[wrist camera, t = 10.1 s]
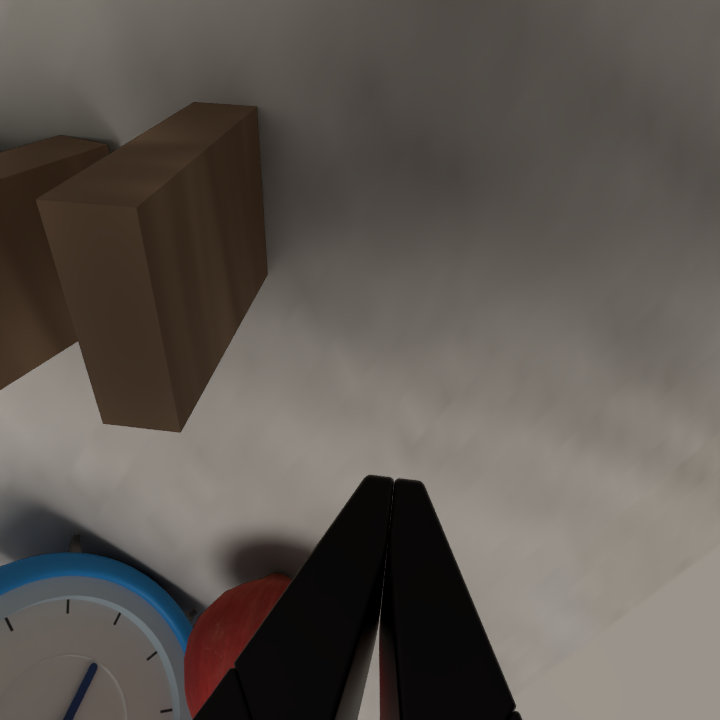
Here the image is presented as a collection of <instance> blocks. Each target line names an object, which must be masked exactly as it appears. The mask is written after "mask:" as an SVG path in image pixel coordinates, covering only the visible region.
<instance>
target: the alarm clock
mask: <svg viewBox="0 0 720 720" xmlns="http://www.w3.org/2000/svg"><path fill="white" fill-rule="evenodd" d="M196 613H197V611H196V610H195V609H193V610H191V611H190V612H188V613H186V614H184V612H183V611H182V610H181V608H180V607H179V606H178V605H177V603H176V602H175V601H174V600H173V599H172V598H171V596H170V595H169V594H168V593H167V592H166V591H165V590H164V589H163V588H161V587H160V586H159V585H158V584H157V583H156V582H155V581H153V580H152V579H150V578H149V577H148V576H146V575H145V574H143V573H142V572H140V571H138V570H136V569H135V568H133V567H131V566H129V565H126V564H124V563H122V562H119V561H116V560H113V559H110V558H107V557H103V556H98V555H94V554H86V553H81V544H80V535H76V534H74V535H73V536H72V537H71V541H70V545H69V549H68V552H63V553H50V554H44V555H38V556H32V557H29V558H25V559H21V560H18V561H14V562H11V563H8V564H6V565H3V566H0V720H192V717H191V714H190V711H189V709H188V706H187V701H186V696H185V690H184V656H185V651H186V647H187V642H188V637H189V635H190V633H191V631H192V629H193V627H192V625H191V623H190V621H191V620H192V618H193V617H194V616H195V615H196Z"/></svg>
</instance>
